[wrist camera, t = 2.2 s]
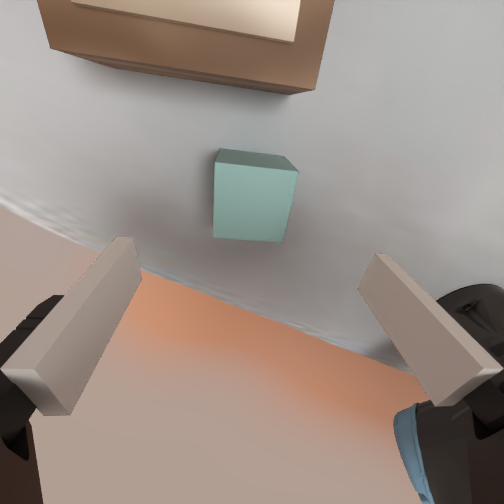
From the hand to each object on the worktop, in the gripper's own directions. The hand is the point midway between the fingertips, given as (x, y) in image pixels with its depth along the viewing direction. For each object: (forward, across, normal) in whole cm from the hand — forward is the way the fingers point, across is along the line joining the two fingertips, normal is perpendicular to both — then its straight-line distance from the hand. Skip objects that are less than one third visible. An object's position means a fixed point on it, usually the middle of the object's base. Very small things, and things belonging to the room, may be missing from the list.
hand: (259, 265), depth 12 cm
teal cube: (+16, 0, 0) cm, 16 cm away
